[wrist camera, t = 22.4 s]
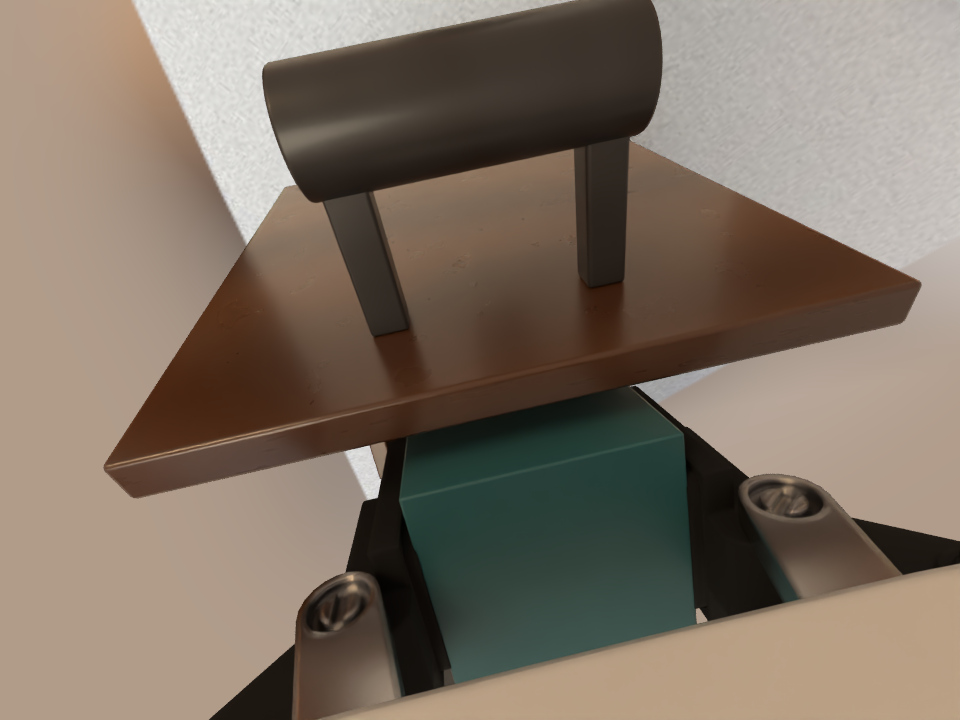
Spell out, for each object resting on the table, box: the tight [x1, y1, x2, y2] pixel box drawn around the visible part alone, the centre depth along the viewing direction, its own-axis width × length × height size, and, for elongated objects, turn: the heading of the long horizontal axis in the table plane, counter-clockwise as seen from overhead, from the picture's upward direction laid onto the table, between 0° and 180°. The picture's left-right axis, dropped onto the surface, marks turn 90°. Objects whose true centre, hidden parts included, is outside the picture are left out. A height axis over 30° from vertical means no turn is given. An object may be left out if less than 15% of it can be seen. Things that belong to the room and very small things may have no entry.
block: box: [399, 386, 697, 684], centre depth 10 cm, size 5×5×5 cm
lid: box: [104, 0, 921, 498], centre depth 11 cm, size 14×13×5 cm
